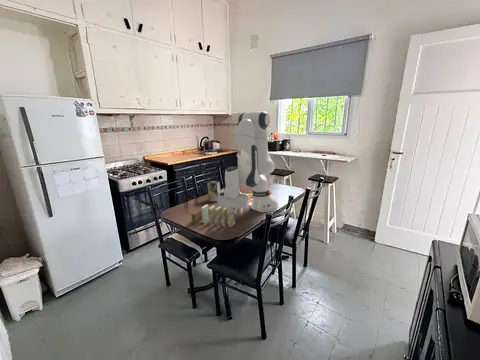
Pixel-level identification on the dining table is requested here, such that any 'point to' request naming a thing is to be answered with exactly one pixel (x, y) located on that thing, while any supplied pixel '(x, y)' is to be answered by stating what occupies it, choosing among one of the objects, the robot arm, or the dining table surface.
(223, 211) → the maple domino
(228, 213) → the maple domino
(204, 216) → the sage domino
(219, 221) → the maple domino
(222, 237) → the dining table surface
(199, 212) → the end stop
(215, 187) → the coffee box
